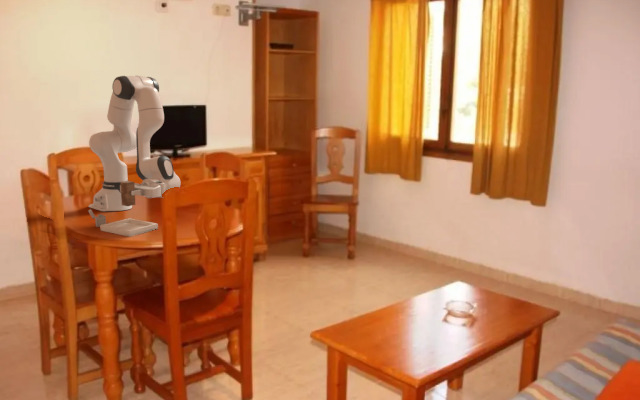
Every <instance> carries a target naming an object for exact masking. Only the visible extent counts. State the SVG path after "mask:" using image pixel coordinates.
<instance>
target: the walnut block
mask: <svg viewBox="0 0 640 400" xmlns="http://www.w3.org/2000/svg"><path fill="white" fill-rule="evenodd" d="M134 183H135V181H131V180H130V181H129V180H128V181H125V182H121V200H122V205H124V206H132V205H133V206H136V195H130V191H135V185H134ZM133 206H132V207H133Z"/></svg>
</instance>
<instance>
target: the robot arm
mask: <svg viewBox="0 0 640 400" xmlns="http://www.w3.org/2000/svg"><path fill="white" fill-rule="evenodd" d="M159 85H160V84H159V82H158V81H157V79H156V78H154V77H151V76H143V75H142V76H141V75H127V76H126V75H120V76H116V77H115V78H114V80H113V81H112V86H111V87H112V88H111V89H112V92H111V96H110V100H109V105H108V108H107V109H108V110H107V115H106V116H107V117H106V118H107V120H108V122H109V123H110V124H112V125H113V128H112V130H109V131H108V130H107V131H100V132H97V133H93V134H92V135H91V136H90V138H89V141H88V144H89V145H88V146H89V148H90V150H91V152H93V153H94V154H95V155H96V156H97V157H98V158H99V160H100V162H101V163H102V167H103V168H102V169H103V177H104V178H103V179H104V180H103V181H101V182H100V184H101V185H102V187H101V189H100V190H98V191H97V192H96V193H95V194H94V196H93V203H90V204H88V208H90V209H93V210H97V211H100V212H118V211H127V210H131V209H132V208H133V206H134V205H132V206H124V205H122V200H121V182H125V181H129V179H128V165H127V164H126V163H125V162H124V161H122V160H121V159H120V158H119V155H118V154H120V153H128V152H131V151H133V150H135V149H136V164H135V172H136V175H137V176H138V178H139V179H140V180H142V182H141V183H137V182H134V185H135V191H130V195H135V196H140V197H145V198H146V199H152V198H153V199H155V198H163V197H162V194H163V193H164V192H165V191H166V190H168V189H170V188H174V187H179V188H180V187H181V179H180V177H179V176H178V175H177V174H176V172H175V171H174V165H173V162H172V160H171V158H169V157H168V156H167V155H158V156H153V157H151V146H150V145H151V144H150V143H151V139H152V137H153V135H154V134H156V132H157V131H159V129H161V128H162V126H163V124H164V122H165V113H164V108H163V107H164V106H163V102H162V98H161V95H160V93H159V92H160V86H159ZM135 102H136V104H137V109H138V110H137V111H138V124H137V125H138V126H137V128H136V132H134V130H133V128H132V117H133V111H134V106H135Z"/></svg>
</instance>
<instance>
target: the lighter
mask: <svg viewBox="0 0 640 400" xmlns="http://www.w3.org/2000/svg"><path fill="white" fill-rule="evenodd" d="M87 212H88V213H89V215H90V217H91V218H92V219H93V220H94V219H95V227H96V228H101V227H100V225H103V224H107V219H106V218H107V217H106V216H105V214H102V213H101V214H97V216H96V215H95V213H94V212H93V210H92V208H90V209H89V210H87Z"/></svg>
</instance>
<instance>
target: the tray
mask: <svg viewBox="0 0 640 400" xmlns="http://www.w3.org/2000/svg"><path fill="white" fill-rule="evenodd" d="M99 228H100V231H101V232H106V233H112V234H116V235H120V236H124V237H129V238H130V237H134V236H137V235H142V234H145V233H148V232H149V233H150V232H152V230H153V231H156V230H159V224H158V223H156V222H151V221H146V220H141V219H134V218H129V217H128V218H125V219H121V220H120V219H119V220H116V221H113V222H112V221H111V222H106V224H103V225H100V227H99ZM155 229H156V230H155Z"/></svg>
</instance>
